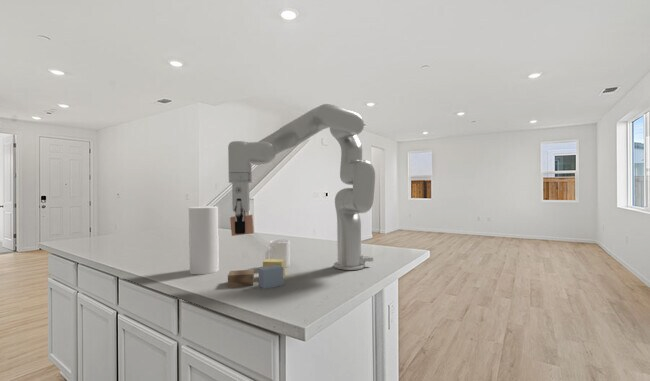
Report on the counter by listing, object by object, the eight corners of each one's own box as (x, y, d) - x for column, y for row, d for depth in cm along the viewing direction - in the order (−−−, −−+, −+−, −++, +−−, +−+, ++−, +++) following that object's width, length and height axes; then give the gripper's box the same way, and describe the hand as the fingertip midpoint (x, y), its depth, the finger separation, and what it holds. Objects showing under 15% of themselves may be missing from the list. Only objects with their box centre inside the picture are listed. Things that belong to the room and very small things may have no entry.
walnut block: (253, 281, 114) (253, 269, 114) (252, 286, 108) (252, 274, 108) (230, 282, 113) (230, 270, 113) (227, 287, 107) (227, 275, 107)
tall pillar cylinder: (218, 266, 134) (217, 205, 134) (219, 272, 124) (217, 207, 124) (190, 268, 131) (189, 206, 131) (188, 275, 121) (187, 208, 121)
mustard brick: (285, 276, 119) (284, 259, 119) (281, 279, 115) (281, 262, 115) (267, 275, 121) (266, 259, 120) (263, 278, 117) (262, 261, 117)
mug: (273, 272, 125) (272, 245, 124) (258, 269, 130) (258, 243, 129) (294, 265, 134) (294, 240, 134) (279, 263, 139) (279, 238, 139)
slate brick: (278, 282, 112) (277, 264, 111) (283, 285, 108) (283, 267, 108) (258, 286, 108) (258, 267, 108) (263, 289, 104) (263, 270, 104)
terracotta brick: (254, 231, 113) (252, 214, 113) (253, 233, 109) (251, 215, 109) (233, 234, 112) (231, 216, 111) (231, 235, 108) (230, 217, 108)
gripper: (249, 177, 102) (250, 236, 102) (253, 179, 119) (253, 229, 119) (224, 177, 101) (225, 236, 101) (231, 179, 118) (232, 229, 118)
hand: (240, 232), depth 110 cm, fingers closed on terracotta brick, 4 cm apart
